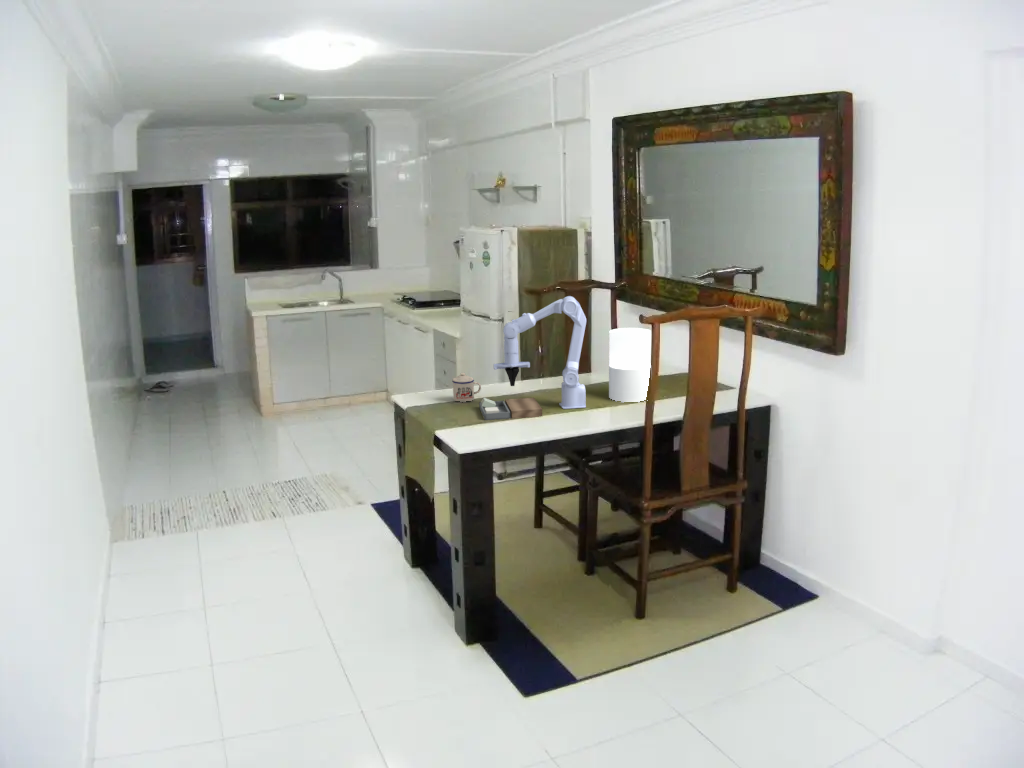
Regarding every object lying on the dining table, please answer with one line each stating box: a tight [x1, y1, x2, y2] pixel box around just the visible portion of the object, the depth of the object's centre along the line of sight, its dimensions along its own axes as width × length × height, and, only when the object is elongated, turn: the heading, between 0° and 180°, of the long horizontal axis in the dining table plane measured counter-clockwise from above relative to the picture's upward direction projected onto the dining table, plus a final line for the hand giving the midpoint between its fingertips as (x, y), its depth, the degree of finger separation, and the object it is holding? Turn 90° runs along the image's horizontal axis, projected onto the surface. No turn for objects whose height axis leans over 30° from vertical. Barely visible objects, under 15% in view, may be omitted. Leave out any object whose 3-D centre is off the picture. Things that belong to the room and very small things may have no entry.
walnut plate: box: [504, 397, 543, 419], centre depth 335 cm, size 12×18×3 cm, turn 9°
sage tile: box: [480, 396, 496, 408], centre depth 337 cm, size 5×5×2 cm
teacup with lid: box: [452, 372, 482, 403], centre depth 353 cm, size 12×9×12 cm
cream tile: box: [485, 407, 499, 413], centre depth 328 cm, size 5×5×2 cm
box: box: [478, 400, 512, 421], centre depth 333 cm, size 10×18×2 cm, turn 9°
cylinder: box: [608, 327, 652, 403], centre depth 349 cm, size 17×17×28 cm
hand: (512, 385), depth 339 cm, fingers closed
